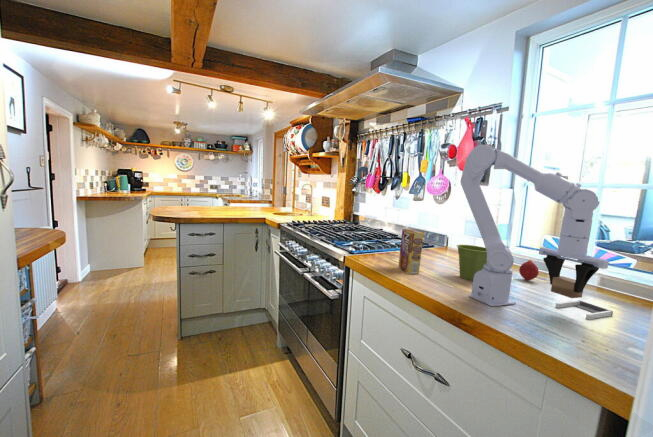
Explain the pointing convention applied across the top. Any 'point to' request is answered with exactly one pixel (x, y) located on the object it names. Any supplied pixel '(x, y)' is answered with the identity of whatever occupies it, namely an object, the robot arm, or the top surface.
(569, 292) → the walnut block
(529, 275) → the pomegranate
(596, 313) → the channel
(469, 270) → the plant pot
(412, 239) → the candy box
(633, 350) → the top surface
